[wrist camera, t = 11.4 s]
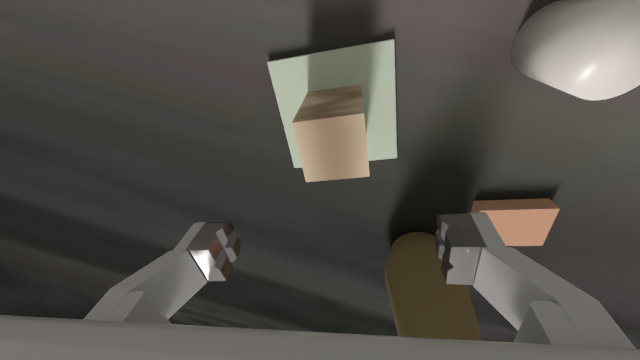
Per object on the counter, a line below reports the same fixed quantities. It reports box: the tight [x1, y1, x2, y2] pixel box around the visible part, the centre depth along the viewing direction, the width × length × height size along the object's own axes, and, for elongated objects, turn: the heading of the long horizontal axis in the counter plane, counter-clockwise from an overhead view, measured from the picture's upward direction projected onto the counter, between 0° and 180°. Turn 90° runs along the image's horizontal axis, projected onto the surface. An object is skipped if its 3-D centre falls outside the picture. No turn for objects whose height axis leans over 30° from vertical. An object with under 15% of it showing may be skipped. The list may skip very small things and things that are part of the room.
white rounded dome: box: [511, 0, 640, 100], centre depth 17 cm, size 5×5×6 cm
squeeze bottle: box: [384, 232, 482, 341], centre depth 24 cm, size 8×8×18 cm
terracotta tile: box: [471, 198, 560, 246], centre depth 28 cm, size 7×5×2 cm
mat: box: [267, 39, 397, 168], centre depth 23 cm, size 10×10×1 cm
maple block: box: [292, 84, 370, 182], centre depth 20 cm, size 4×4×7 cm
